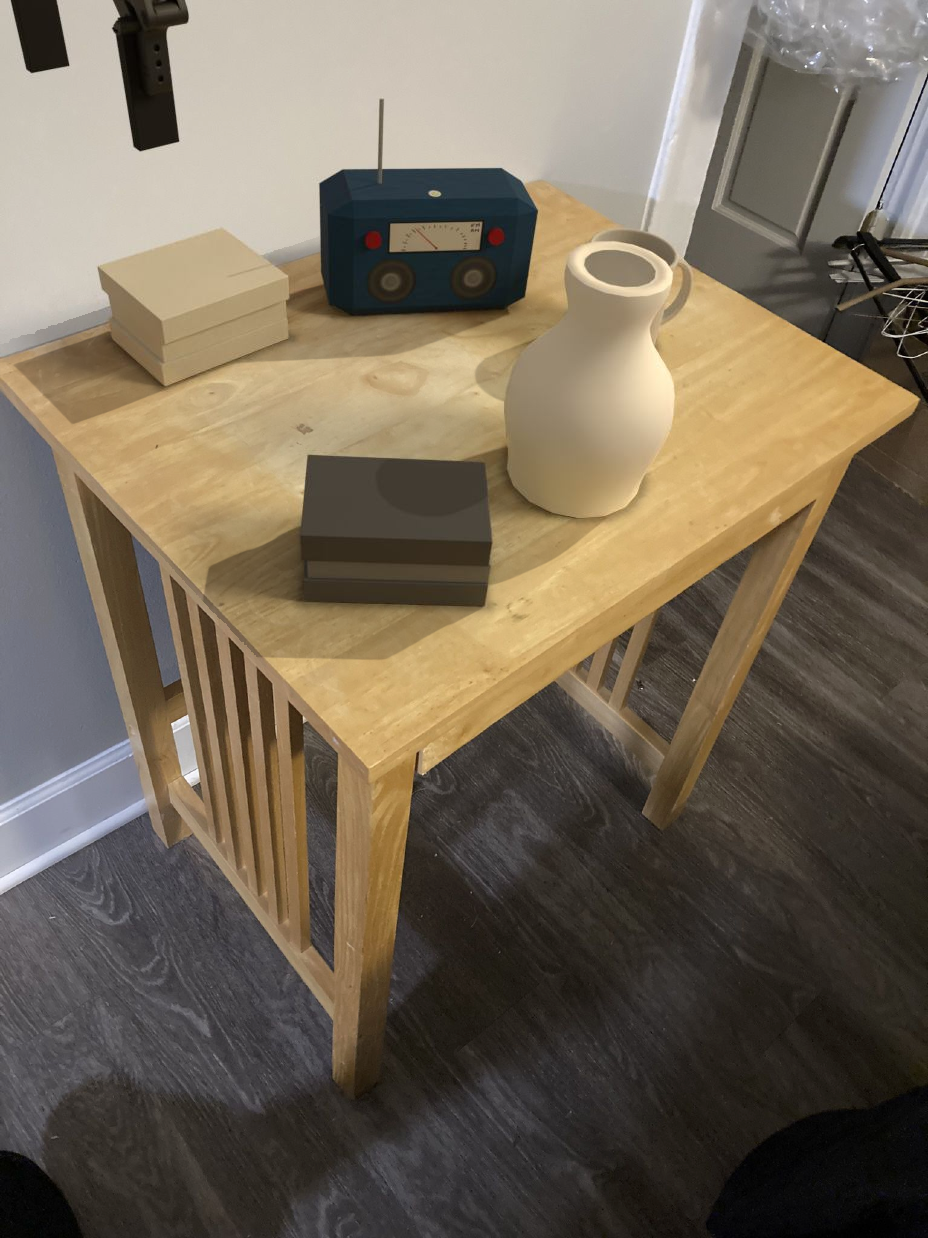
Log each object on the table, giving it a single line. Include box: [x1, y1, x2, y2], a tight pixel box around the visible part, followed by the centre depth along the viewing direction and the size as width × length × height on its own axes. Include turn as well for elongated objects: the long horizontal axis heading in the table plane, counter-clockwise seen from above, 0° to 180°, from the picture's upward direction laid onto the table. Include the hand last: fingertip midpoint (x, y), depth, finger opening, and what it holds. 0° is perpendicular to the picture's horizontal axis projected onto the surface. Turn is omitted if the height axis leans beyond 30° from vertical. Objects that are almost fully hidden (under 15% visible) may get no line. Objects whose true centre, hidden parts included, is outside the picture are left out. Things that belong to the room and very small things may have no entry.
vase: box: [503, 241, 676, 519], centre depth 80 cm, size 14×14×20 cm
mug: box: [588, 227, 694, 347], centre depth 99 cm, size 11×10×10 cm
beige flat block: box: [96, 227, 290, 344], centre depth 91 cm, size 14×11×2 cm
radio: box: [318, 98, 539, 317], centre depth 97 cm, size 21×9×20 cm, turn 103°
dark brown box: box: [299, 454, 493, 607], centre depth 75 cm, size 14×9×7 cm, turn 93°
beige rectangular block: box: [107, 294, 289, 387], centre depth 94 cm, size 14×10×5 cm
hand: (99, 104), depth 62 cm, fingers open, 13 cm apart
